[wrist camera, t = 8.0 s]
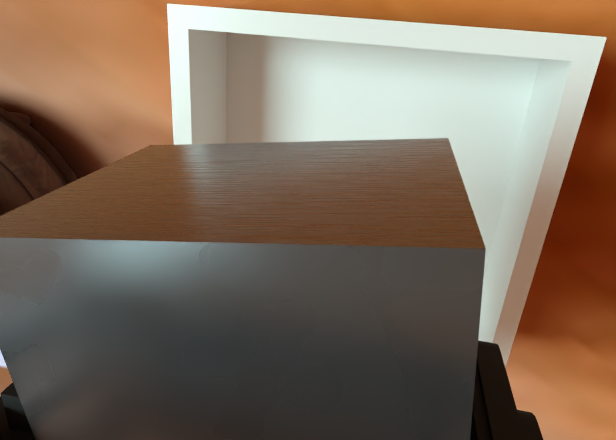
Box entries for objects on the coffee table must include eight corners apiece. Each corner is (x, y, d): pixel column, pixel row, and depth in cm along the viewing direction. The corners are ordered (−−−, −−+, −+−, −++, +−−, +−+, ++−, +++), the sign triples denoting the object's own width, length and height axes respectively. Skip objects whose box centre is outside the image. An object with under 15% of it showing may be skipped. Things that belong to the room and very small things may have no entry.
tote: (561, 33, 19) (606, 36, 15) (481, 329, 25) (496, 396, 21) (218, 7, 22) (167, 3, 17) (220, 284, 28) (182, 335, 23)
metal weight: (448, 138, 9) (485, 248, 5) (432, 493, 13) (444, 744, 8) (150, 145, 11) (-44, 236, 6) (214, 465, 14) (124, 668, 10)
